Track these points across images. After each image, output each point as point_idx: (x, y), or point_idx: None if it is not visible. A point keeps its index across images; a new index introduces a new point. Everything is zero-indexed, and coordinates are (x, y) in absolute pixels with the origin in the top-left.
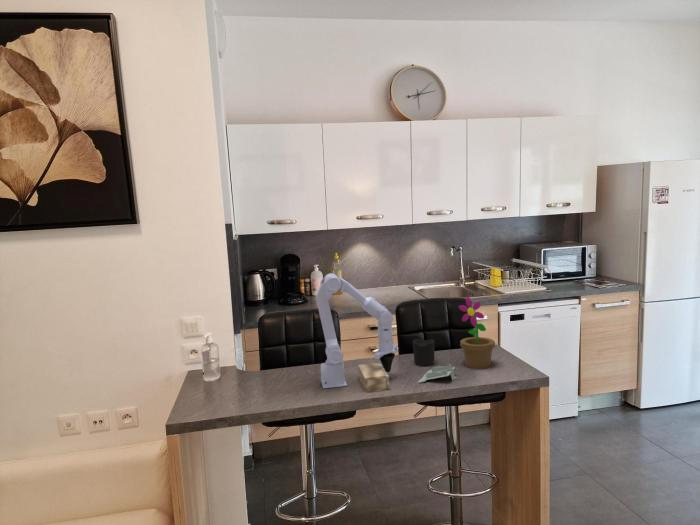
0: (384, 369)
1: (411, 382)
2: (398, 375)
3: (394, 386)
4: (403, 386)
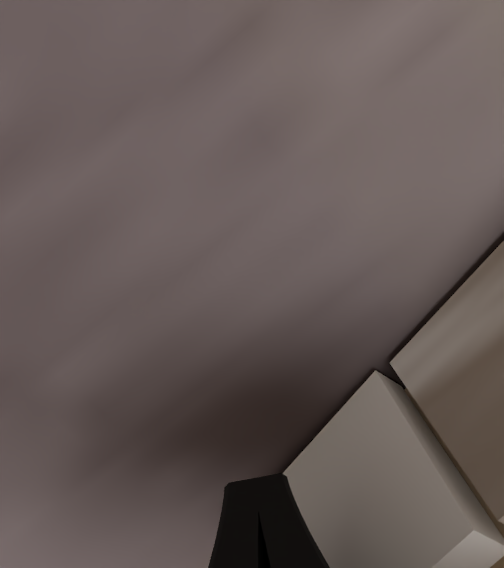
0: (473, 530)
1: (128, 16)
2: (45, 403)
3: (454, 147)
4: (382, 9)
